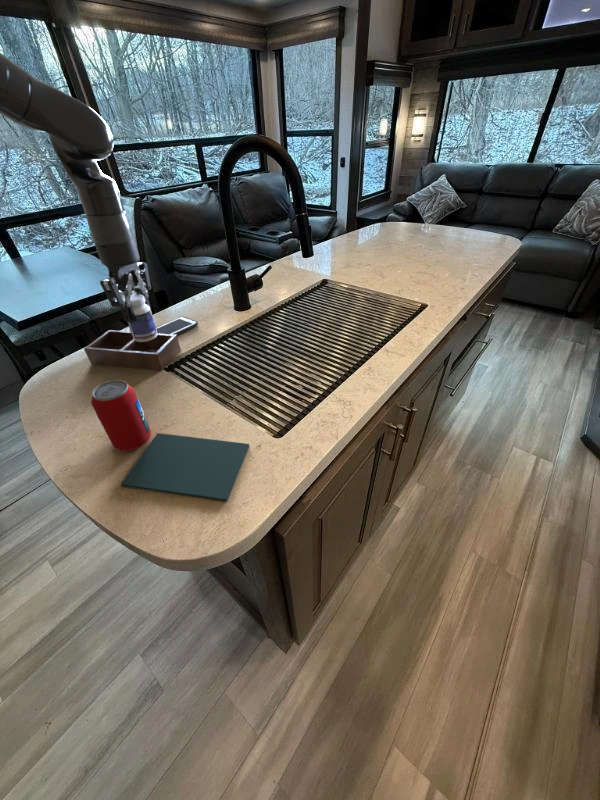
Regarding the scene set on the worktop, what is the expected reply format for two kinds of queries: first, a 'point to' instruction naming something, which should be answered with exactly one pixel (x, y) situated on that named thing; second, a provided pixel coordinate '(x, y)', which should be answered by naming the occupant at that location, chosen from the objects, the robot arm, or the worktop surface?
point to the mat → (188, 467)
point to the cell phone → (176, 326)
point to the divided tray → (132, 350)
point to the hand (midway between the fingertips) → (139, 315)
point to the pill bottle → (142, 320)
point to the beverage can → (121, 415)
